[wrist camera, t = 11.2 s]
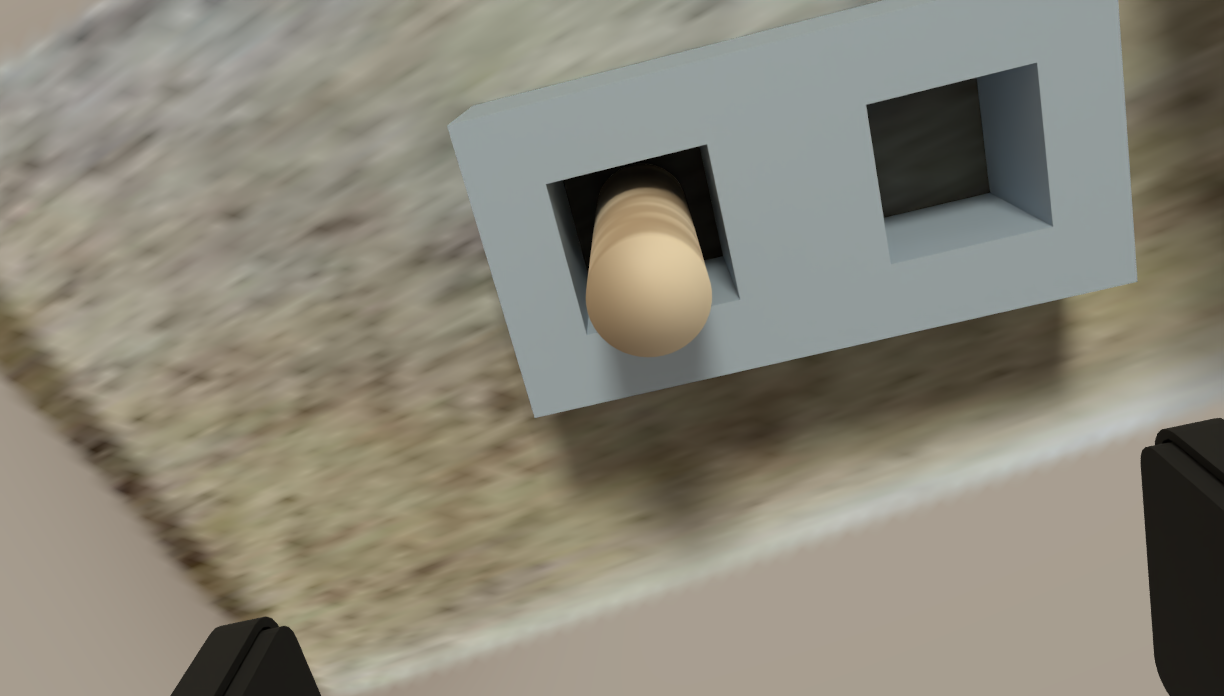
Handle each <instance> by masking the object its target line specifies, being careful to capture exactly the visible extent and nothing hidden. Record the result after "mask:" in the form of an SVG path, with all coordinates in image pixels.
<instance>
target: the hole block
mask: <svg viewBox="0 0 1224 696" xmlns="http://www.w3.org/2000/svg"><path fill="white" fill-rule="evenodd" d="M972 78H977V86H978V95H979V103H980V112H981V120H982V129H983V137H984V146H985V154H986V163H987V171H988V180H989V188H990V193H987V194H983V195H978V196H974V197H970V198H966V199H961V200H957V201H953V202H949V203H945V204H940V205H936V206H932V207H928V208H923V209H919V210H915V211H911V212H907V213H902V214H898V215H894V216H890V217H886V218H884V217H883V210H882V204H881V198H880V191H879V185H878V178H877V172H876V166H875V159H874V153H873V146H872V140H871V134H870V127H869V121H868V114H867V108H866V105H867V104H871V103H875V102H879V101H883V100H887V99H891V98H896V97H900V96H904V95H908V94H912V93H916V92H920V91H924V90H928V89H932V88H936V87H940V86H944V85H948V84H952V83H956V82H960V81H964V80H968V79H972ZM447 127H448V130H449V133H450V137H451V140H452V143H453V147H454V150H455V153H456V157H457V160H458V163H459V167H460V170H461V173H462V177H463V180H464V183H465V187H466V190H467V193H468V197H469V200H470V203H471V207H472V210H473V213H474V217H475V220H476V223H477V227H478V230H479V233H480V237H481V240H482V243H483V247H484V250H485V253H486V257H487V260H488V263H489V267H490V270H491V273H492V277H493V280H494V283H495V287H496V290H497V293H498V297H499V300H500V303H501V307H502V310H503V313H504V317H505V320H506V323H507V327H508V330H509V333H510V337H511V340H512V343H513V347H514V350H515V353H516V357H517V360H518V363H519V367H520V370H521V373H522V377H523V380H524V383H525V387H526V390H527V393H528V397H529V400H530V403H531V407H532V410H533V413H534V417H535V418H537V417H541V416H546V415H550V414H554V413H559V412H563V411H568V410H572V409H577V408H581V407H585V406H590V405H594V404H599V403H603V402H607V401H612V400H616V399H621V398H625V397H630V396H634V395H638V394H643V393H647V392H652V391H656V390H661V389H665V388H669V387H674V386H678V385H683V384H687V383H691V382H696V381H700V380H705V379H709V378H714V377H718V376H722V375H727V374H731V373H736V372H740V371H745V370H749V369H753V368H758V367H762V366H767V365H771V364H775V363H780V362H784V361H789V360H793V359H798V358H802V357H806V356H811V355H815V354H820V353H824V352H829V351H833V350H837V349H842V348H846V347H851V346H855V345H859V344H864V343H868V342H873V341H877V340H882V339H886V338H890V337H895V336H899V335H904V334H908V333H912V332H917V331H921V330H926V329H930V328H935V327H939V326H943V325H948V324H952V323H957V322H961V321H966V320H970V319H974V318H979V317H983V316H988V315H992V314H996V313H1001V312H1005V311H1010V310H1014V309H1019V308H1023V307H1027V306H1032V305H1036V304H1041V303H1045V302H1050V301H1054V300H1058V299H1063V298H1067V297H1072V296H1076V295H1080V294H1085V293H1089V292H1094V291H1098V290H1103V289H1107V288H1111V287H1116V286H1120V285H1125V284H1129V283H1134V282H1137V269H1136V254H1135V240H1134V225H1133V210H1132V196H1131V181H1130V167H1129V152H1128V137H1127V123H1126V108H1125V94H1124V79H1123V64H1122V50H1121V35H1120V21H1119V6H1118V0H882V1H879V2H875V3H871V4H867V5H863V6H859V7H855V8H851V9H847V10H844V11H840V12H836V13H832V14H828V15H824V16H820V17H816V18H812V19H809V20H805V21H801V22H797V23H793V24H789V25H785V26H781V27H777V28H773V29H770V30H766V31H762V32H758V33H754V34H750V35H746V36H742V37H738V38H735V39H731V40H727V41H723V42H719V43H715V44H711V45H707V46H703V47H700V48H696V49H692V50H688V51H684V52H680V53H676V54H672V55H668V56H664V57H661V58H657V59H653V60H649V61H645V62H641V63H637V64H633V65H629V66H626V67H622V68H618V69H614V70H610V71H606V72H602V73H598V74H594V75H591V76H587V77H583V78H579V79H575V80H571V81H567V82H563V83H559V84H555V85H552V86H548V87H544V88H540V89H536V90H532V91H528V92H524V93H520V94H517V95H513V96H509V97H505V98H501V99H497V100H493V101H489V102H485V103H482V104H478V105H474V106H472V107H471V108H469V109H468V110H467V111H465V112H464V113H463V114H461V115H460V116H459V117H458V118H456V119H455V120H454V121H452V122H451V123H450V124H449V125H447ZM698 146H699V147H700V152H701V156H702V161H703V166H704V170H705V175H706V180H707V184H708V189H709V194H710V198H711V203H712V207H713V212H714V217H715V221H716V226H717V231H718V235H719V240H720V245H721V249H722V254H723V256H721V257H717V258H713V259H708V260H704V262H705V266H706V269H707V272H708V276H709V279H710V283H711V288H712V304H711V310H710V313H709V316H708V319H707V321H706V323H705V325H704V327H703V328H702V330H701V331H700V332H699V334H698V335H697V336H696V337H695V338H694V339H693V340H692V341H691V342H690V343H688V344H687V345H686V346H684V347H683V348H681V349H679V350H677V351H675V352H673V353H670V354H667V355H664V356H658V357H638V356H634V355H630V354H627V353H624V352H622V351H620V350H618V349H616V348H614V347H613V346H611V345H610V344H608V343H607V342H606V341H605V340H604V339H603V338H602V337H601V336H600V335H599V334H598V332H597V331H596V329H595V328H594V326H593V324H592V322H591V320H590V318H589V315H588V312H587V306H586V287H587V279H588V273H587V269H586V265H585V261H584V258H583V254H582V250H581V246H580V243H579V239H578V235H577V231H576V228H575V224H574V220H573V216H572V212H571V209H570V205H569V201H568V197H567V194H566V190H565V186H564V182H563V180H565V179H569V178H573V177H577V176H581V175H585V174H589V173H593V172H597V171H601V170H605V169H609V168H613V167H617V166H621V165H625V164H629V163H633V162H637V161H641V160H645V159H649V158H653V157H657V156H661V155H665V154H670V153H674V152H678V151H682V150H686V149H690V148H694V147H698Z"/></svg>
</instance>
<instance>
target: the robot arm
mask: <svg viewBox="0 0 1224 696" xmlns="http://www.w3.org/2000/svg"><path fill="white" fill-rule="evenodd" d="M1141 475H1142V490H1143V504H1144V518H1145V531H1146V545H1147V560H1148V573H1149V588H1150V603H1151V617H1152V631H1153V645H1154V657H1155V663H1156V667H1157V671H1158V674H1159V676H1160V679H1161V681H1162V683H1163V685H1164V687H1165V689H1166V691H1167V692H1168V694H1169V695H1170V696H1224V420H1223V419H1222V418H1215V419H1210V420H1205V421H1200V422H1195V423H1191V424H1186V425H1182V426H1176V427H1172V428H1167V429H1162V430H1161V431H1160V432H1159V433H1158V434H1157V436H1156V440H1155V445H1154V446H1149V447H1145V448H1144V449H1143V450H1142V453H1141ZM171 696H321V694H320V692H319V690H318V687H317V685H316V683H315V680H314V678H313V676H312V673H311V671H310V669H309V666H308V664H307V662H306V659H305V657H304V655H303V652H302V650H301V647H300V645H299V643H298V640H297V638H296V636H295V634H294V632H293V631H292V630H291V629H290V628H289V627H287V626H281V627H279V626H278V624H277V623H276V622H275V621H274V620H273V619H272V618H269V617H261V618H257V619H252V620H247V621H242V622H237V623H233V624H228V625H223V626H220V627H217V628H215V629H214V630H213V631H212V633H211V634H210V635H209V637H208V638H207V640H206V641H205V643H204V644H203V646H202V647H201V649H200V651H199V652H198V654H197V655H196V657H195V658H194V660H193V662H192V663H191V665H190V666H189V668H188V669H187V671H186V672H185V674H184V675H183V677H182V679H181V680H180V682H179V683H178V685H177V686H176V688H175V690H174V691H173V693H172V694H171Z"/></svg>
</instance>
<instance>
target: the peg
mask: <svg viewBox="0 0 1224 696" xmlns="http://www.w3.org/2000/svg"><path fill="white" fill-rule="evenodd" d="M711 304H712V288H711V283H710V279H709V276H708V272H707V269H706V266H705V262H704V259H703V255H702V252H701V249H700V245H699V242H698V238H697V235H696V231H695V228H694V225H693V221H692V218H691V214H690V211H689V207H688V204H687V201H686V197H685V194H684V191H683V189H682V187H681V185H680V183H679V182H678V181H677V179H676V178H675V177H674V176H673V175H672V174H671V173H669V172H668V171H666V170H665V169H663V168H661V167H658V166H656V165H652V164H645V163H640V164H632V165H629V166H625V167H623V168H621V169H619V170H618V171H616V172H615V173H613V174H612V175H611V176H610V177H609V178H608V179H607V180H606V182H605V183H604V185H603V186H602V188H601V190H600V193H599V196H598V200H597V207H596V215H595V223H594V231H593V239H592V247H591V255H590V263H589V271H588V279H587V287H586V306H587V312H588V315H589V318H590V320H591V322H592V324H593V326H594V328H595V329H596V331H597V332H598V334H599V335H600V336H601V337H602V338H603V339H604V340H605V341H606V342H607V343H608V344H610V345H611V346H613V347H614V348H616V349H618V350H620V351H622V352H624V353H627V354H630V355H634V356H638V357H658V356H664V355H667V354H670V353H673V352H675V351H677V350H679V349H681V348H683V347H684V346H686V345H687V344H688V343H690V342H691V341H692V340H693V339H694V338H695V337H696V336H697V335H698V334H699V332H700V331H701V330H702V328H703V327H704V325H705V323H706V321H707V319H708V316H709V313H710V310H711Z"/></svg>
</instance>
